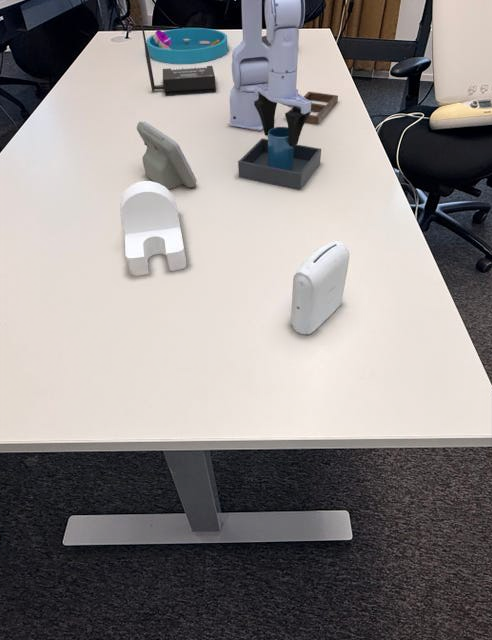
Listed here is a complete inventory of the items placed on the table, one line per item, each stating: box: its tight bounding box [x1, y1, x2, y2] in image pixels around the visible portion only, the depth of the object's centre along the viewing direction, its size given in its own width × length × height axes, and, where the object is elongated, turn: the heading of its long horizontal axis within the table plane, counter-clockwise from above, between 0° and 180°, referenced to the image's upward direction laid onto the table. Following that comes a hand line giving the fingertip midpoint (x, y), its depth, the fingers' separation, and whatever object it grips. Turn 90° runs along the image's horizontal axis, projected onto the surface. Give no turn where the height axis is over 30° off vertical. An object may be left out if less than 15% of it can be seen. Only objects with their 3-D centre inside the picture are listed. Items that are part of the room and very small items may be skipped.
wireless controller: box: [141, 24, 217, 97], centre depth 132 cm, size 20×14×17 cm
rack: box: [287, 91, 339, 125], centre depth 124 cm, size 9×17×2 cm, turn 156°
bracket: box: [119, 180, 188, 277], centre depth 79 cm, size 19×10×11 cm, turn 12°
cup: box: [267, 126, 294, 171], centre depth 98 cm, size 6×6×8 cm
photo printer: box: [290, 240, 351, 336], centre depth 65 cm, size 10×4×12 cm, turn 140°
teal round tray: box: [146, 27, 229, 65], centre depth 161 cm, size 30×30×6 cm
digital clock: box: [136, 121, 197, 191], centre depth 96 cm, size 16×9×11 cm, turn 26°
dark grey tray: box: [237, 138, 322, 191], centre depth 100 cm, size 15×13×4 cm
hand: (280, 139), depth 96 cm, fingers open, 7 cm apart
